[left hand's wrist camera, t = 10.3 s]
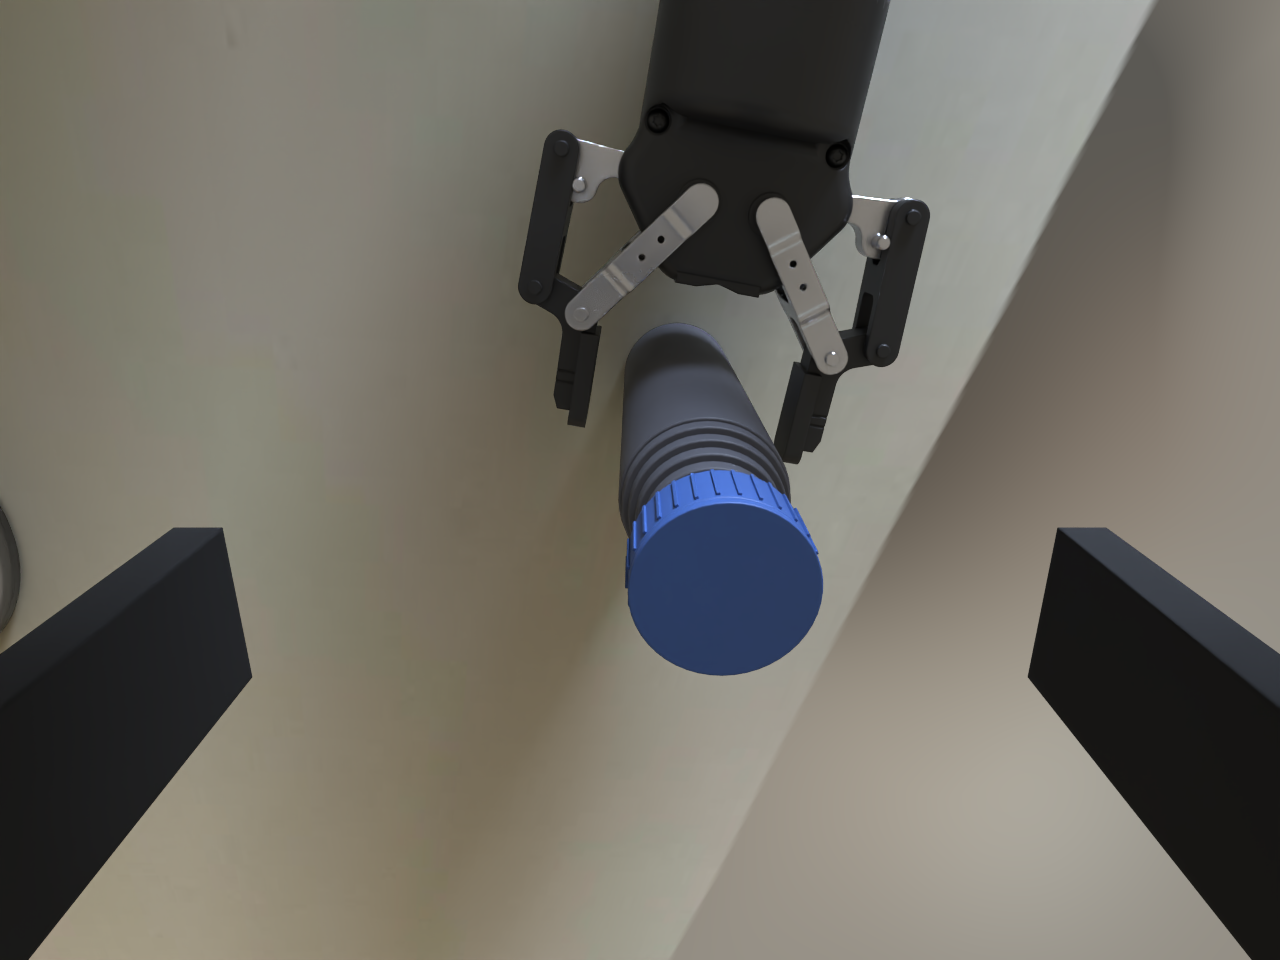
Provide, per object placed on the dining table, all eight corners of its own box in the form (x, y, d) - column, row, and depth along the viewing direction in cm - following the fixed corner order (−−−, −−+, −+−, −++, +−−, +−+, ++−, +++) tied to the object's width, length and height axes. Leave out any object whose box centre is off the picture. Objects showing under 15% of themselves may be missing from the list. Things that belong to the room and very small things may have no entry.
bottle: (677, 300, 36) (729, 436, 16) (749, 374, 37) (878, 583, 18) (603, 375, 37) (568, 585, 18) (675, 444, 39) (719, 713, 19)
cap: (720, 429, 18) (730, 458, 16) (844, 551, 19) (867, 592, 17) (588, 552, 19) (583, 594, 17) (713, 661, 20) (721, 711, 18)
